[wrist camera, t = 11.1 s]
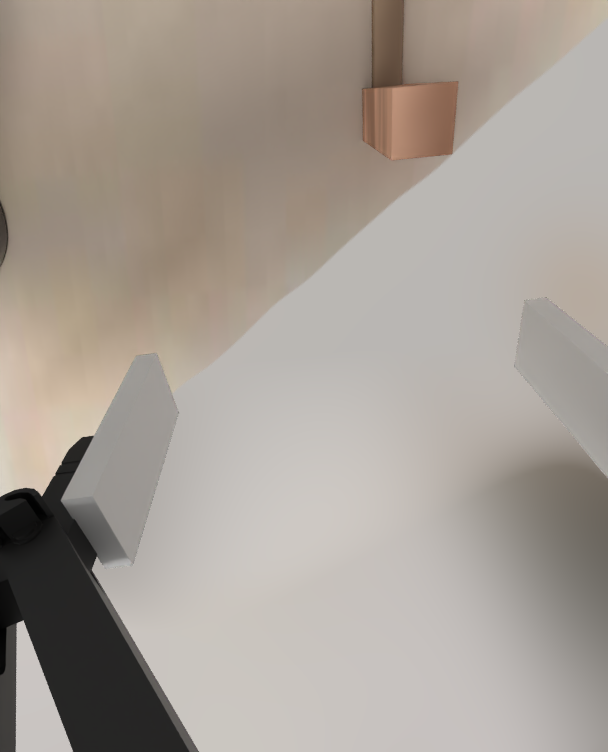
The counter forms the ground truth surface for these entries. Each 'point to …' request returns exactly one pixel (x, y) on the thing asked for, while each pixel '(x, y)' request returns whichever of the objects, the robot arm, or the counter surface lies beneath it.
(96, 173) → the counter surface
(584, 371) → the robot arm
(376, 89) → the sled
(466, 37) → the counter surface
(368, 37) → the counter surface
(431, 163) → the counter surface
